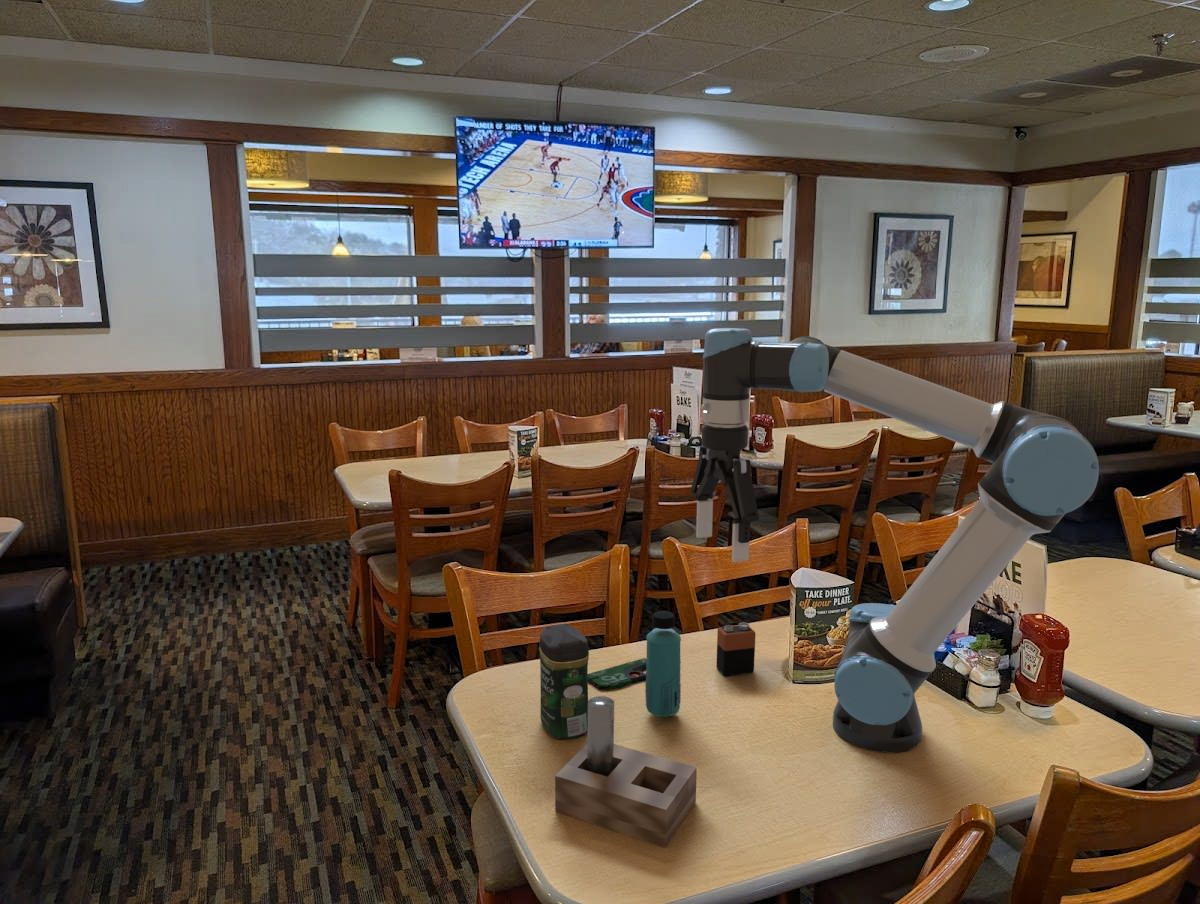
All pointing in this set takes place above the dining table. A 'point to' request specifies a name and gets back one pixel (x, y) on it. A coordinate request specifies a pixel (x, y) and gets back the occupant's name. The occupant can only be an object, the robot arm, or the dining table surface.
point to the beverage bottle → (663, 666)
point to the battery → (735, 649)
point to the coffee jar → (564, 681)
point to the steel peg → (600, 735)
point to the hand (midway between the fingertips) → (721, 548)
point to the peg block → (629, 794)
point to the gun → (619, 675)
